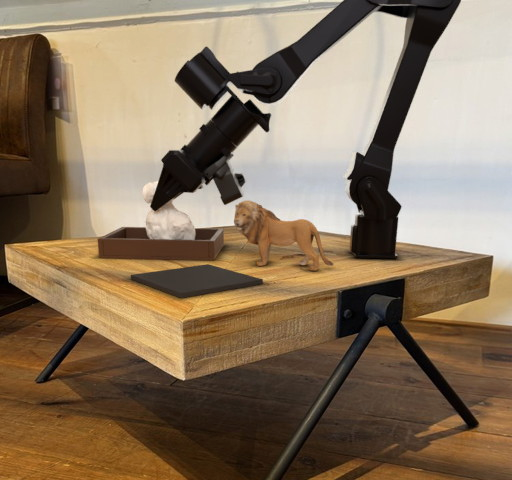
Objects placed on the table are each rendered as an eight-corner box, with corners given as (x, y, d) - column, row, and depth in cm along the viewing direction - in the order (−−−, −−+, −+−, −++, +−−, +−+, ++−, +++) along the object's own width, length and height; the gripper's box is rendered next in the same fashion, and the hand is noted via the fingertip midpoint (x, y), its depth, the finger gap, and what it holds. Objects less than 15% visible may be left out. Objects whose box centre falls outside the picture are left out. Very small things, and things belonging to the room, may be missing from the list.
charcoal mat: (208, 268, 80) (208, 264, 80) (262, 283, 71) (263, 279, 71) (130, 279, 73) (130, 274, 73) (180, 298, 64) (180, 293, 64)
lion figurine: (228, 265, 82) (228, 201, 79) (239, 259, 87) (239, 198, 84) (330, 272, 78) (334, 205, 75) (336, 265, 83) (339, 202, 80)
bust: (150, 255, 98) (108, 203, 91) (180, 226, 100) (140, 173, 93) (187, 264, 89) (143, 207, 82) (218, 231, 91) (178, 173, 84)
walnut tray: (223, 245, 99) (223, 228, 98) (214, 260, 86) (214, 241, 85) (123, 243, 99) (122, 226, 98) (98, 257, 87) (97, 238, 86)
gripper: (258, 175, 79) (183, 254, 83) (263, 170, 97) (200, 235, 101) (200, 114, 77) (125, 198, 81) (216, 120, 95) (154, 189, 99)
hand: (155, 207), depth 90 cm, fingers closed on bust, 4 cm apart
